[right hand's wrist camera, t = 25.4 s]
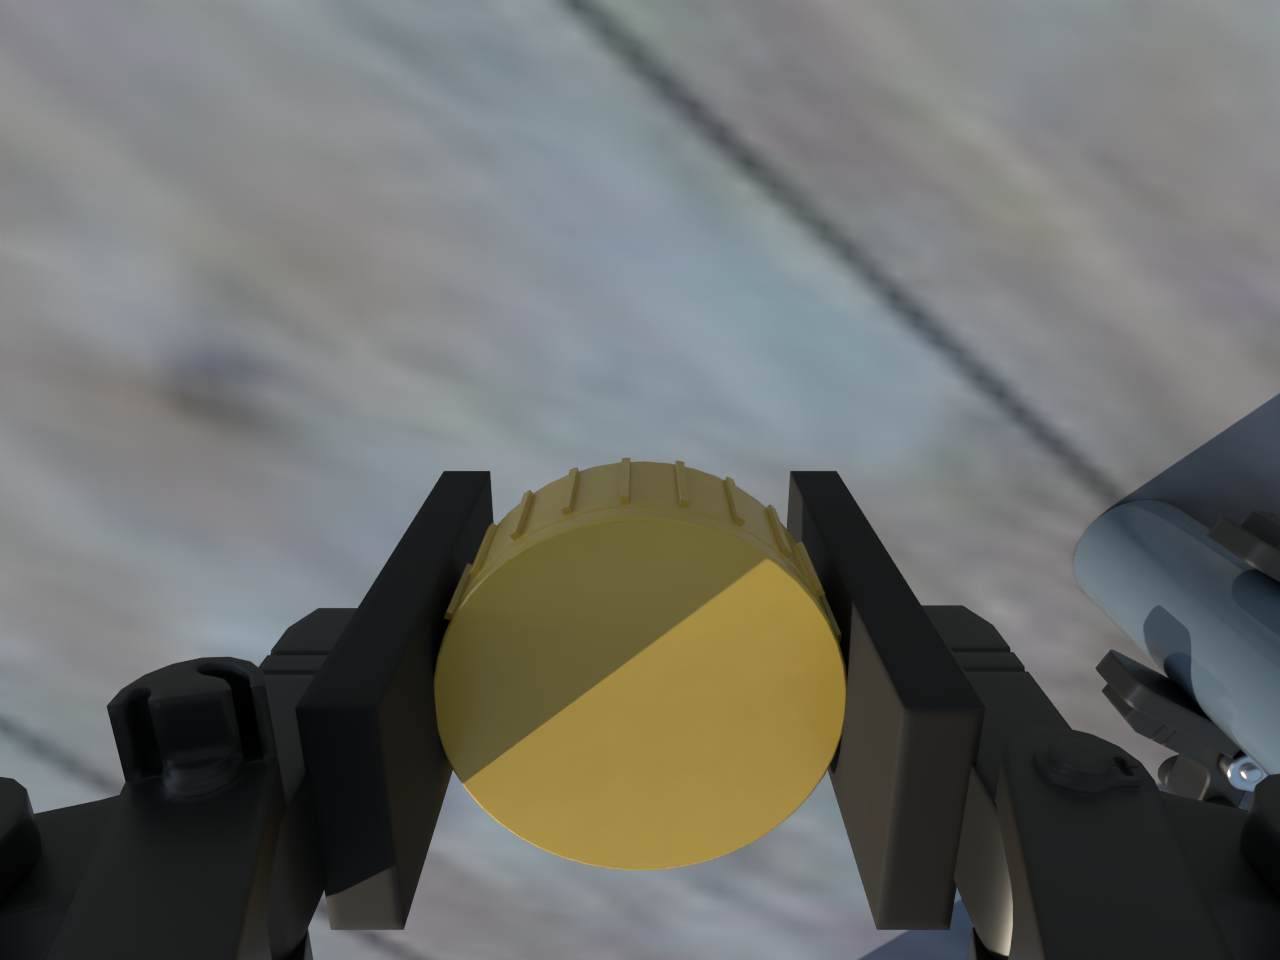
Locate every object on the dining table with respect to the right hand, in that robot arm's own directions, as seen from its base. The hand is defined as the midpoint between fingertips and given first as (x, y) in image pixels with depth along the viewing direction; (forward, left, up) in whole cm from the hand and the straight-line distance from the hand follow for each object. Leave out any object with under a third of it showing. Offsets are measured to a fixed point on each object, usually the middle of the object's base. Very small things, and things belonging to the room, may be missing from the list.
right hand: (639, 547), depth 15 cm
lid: (0, 0, +4) cm, 4 cm away
